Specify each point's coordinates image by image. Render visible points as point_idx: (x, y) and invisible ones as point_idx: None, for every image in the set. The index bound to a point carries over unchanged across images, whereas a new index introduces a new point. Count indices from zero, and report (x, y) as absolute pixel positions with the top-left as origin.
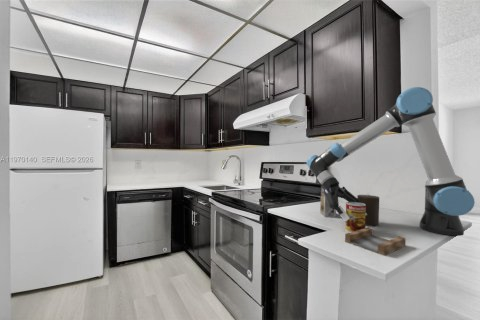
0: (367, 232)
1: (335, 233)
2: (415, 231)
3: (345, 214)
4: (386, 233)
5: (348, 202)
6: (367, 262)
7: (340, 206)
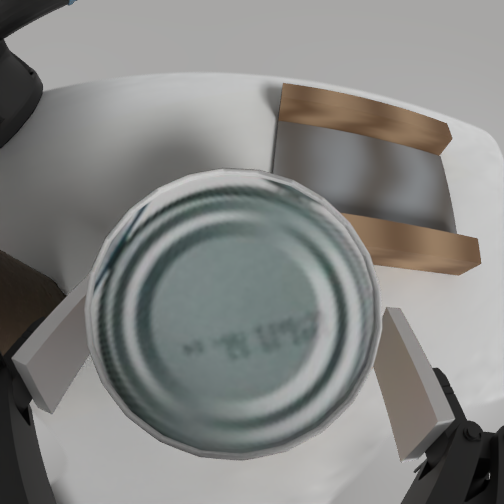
0: None
1: None
2: (40, 143)
3: (414, 341)
4: None
5: (198, 445)
6: (497, 167)
7: (446, 410)
